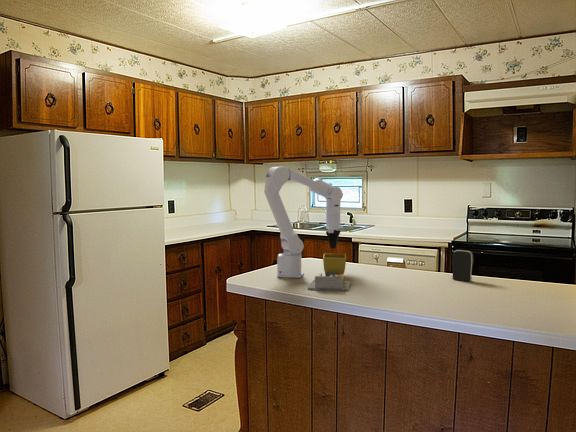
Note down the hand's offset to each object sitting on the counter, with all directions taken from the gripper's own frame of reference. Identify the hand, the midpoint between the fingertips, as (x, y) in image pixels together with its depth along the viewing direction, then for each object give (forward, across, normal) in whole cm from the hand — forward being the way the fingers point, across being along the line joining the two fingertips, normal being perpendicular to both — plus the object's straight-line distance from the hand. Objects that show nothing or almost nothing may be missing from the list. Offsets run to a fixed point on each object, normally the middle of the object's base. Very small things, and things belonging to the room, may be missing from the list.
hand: (333, 248), depth 186 cm
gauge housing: (+10, -25, -2) cm, 27 cm away
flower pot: (+10, -12, -2) cm, 16 cm away
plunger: (+9, -23, -3) cm, 25 cm away
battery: (+10, -5, -50) cm, 51 cm away
